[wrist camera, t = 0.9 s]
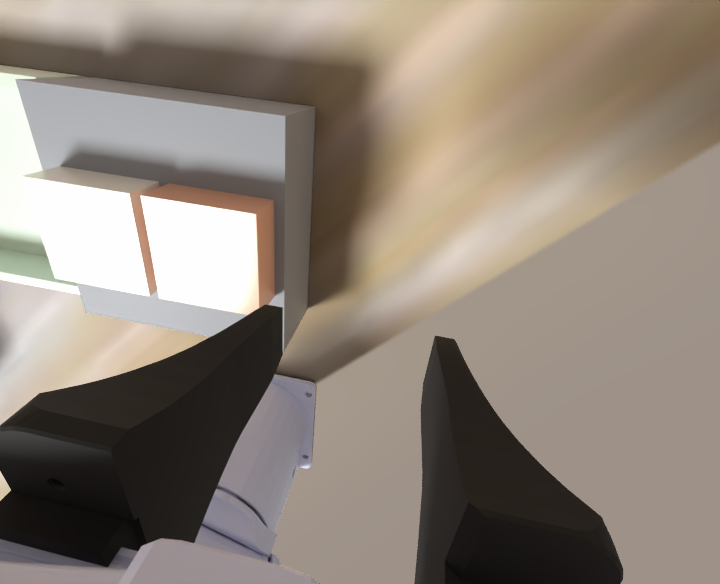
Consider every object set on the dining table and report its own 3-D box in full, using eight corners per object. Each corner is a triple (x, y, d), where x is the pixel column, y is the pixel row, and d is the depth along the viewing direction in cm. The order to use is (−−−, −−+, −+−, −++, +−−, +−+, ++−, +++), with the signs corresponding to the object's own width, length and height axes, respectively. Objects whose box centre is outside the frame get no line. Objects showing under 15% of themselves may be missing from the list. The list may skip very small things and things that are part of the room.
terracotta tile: (274, 295, 20) (259, 317, 18) (182, 278, 20) (159, 298, 19) (274, 200, 17) (256, 214, 16) (169, 183, 18) (140, 195, 16)
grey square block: (307, 308, 26) (284, 351, 22) (136, 277, 27) (85, 312, 23) (315, 106, 20) (285, 116, 16) (94, 77, 21) (15, 79, 17)
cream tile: (173, 277, 21) (149, 296, 19) (86, 261, 21) (55, 278, 19) (158, 181, 18) (129, 193, 16) (59, 166, 18) (21, 175, 17)
